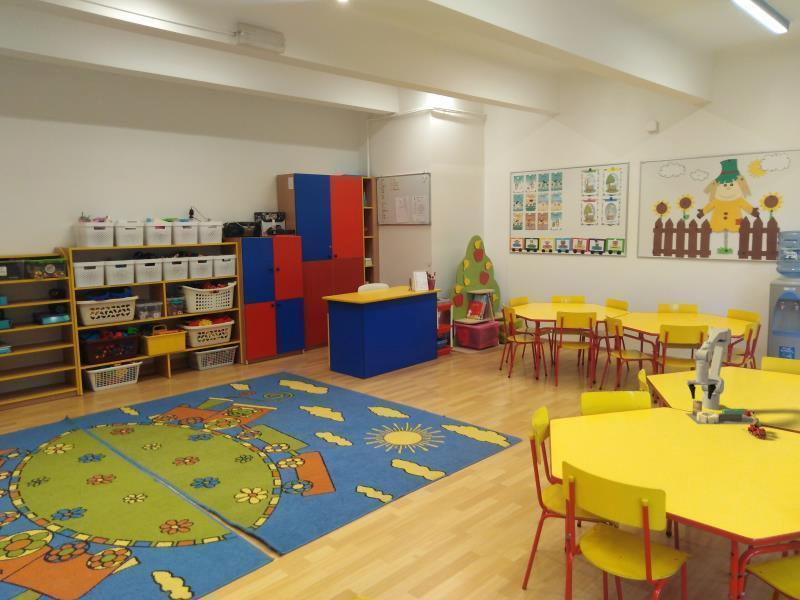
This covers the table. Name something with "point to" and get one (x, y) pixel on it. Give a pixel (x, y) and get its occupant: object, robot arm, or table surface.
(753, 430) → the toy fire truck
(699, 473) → the table surface
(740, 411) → the bar
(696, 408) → the peg
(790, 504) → the table surface
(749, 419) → the board
